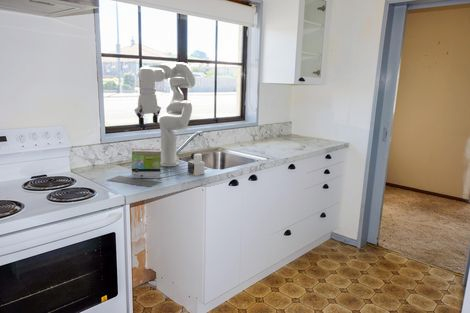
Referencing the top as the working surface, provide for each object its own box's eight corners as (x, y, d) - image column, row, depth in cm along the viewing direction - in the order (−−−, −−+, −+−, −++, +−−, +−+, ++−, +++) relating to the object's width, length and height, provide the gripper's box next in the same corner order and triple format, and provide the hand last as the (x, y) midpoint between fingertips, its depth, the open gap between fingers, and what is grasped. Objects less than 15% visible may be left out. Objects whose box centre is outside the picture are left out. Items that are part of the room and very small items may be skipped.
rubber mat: (119, 176, 198) (119, 175, 198) (161, 182, 189) (161, 181, 189) (106, 180, 188) (106, 179, 188) (150, 187, 180) (150, 186, 180)
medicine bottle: (187, 173, 210) (187, 152, 208) (198, 171, 215) (198, 151, 212) (193, 175, 205) (194, 155, 202) (204, 174, 209) (205, 153, 206)
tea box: (131, 178, 192) (131, 151, 189) (131, 174, 201) (131, 147, 199) (160, 178, 196) (161, 151, 194) (159, 173, 206) (159, 148, 203)
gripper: (155, 91, 202) (155, 121, 206) (129, 92, 189) (131, 124, 193) (164, 91, 198) (165, 123, 202) (139, 93, 184) (140, 126, 189)
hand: (148, 123), depth 198 cm, fingers open, 9 cm apart
